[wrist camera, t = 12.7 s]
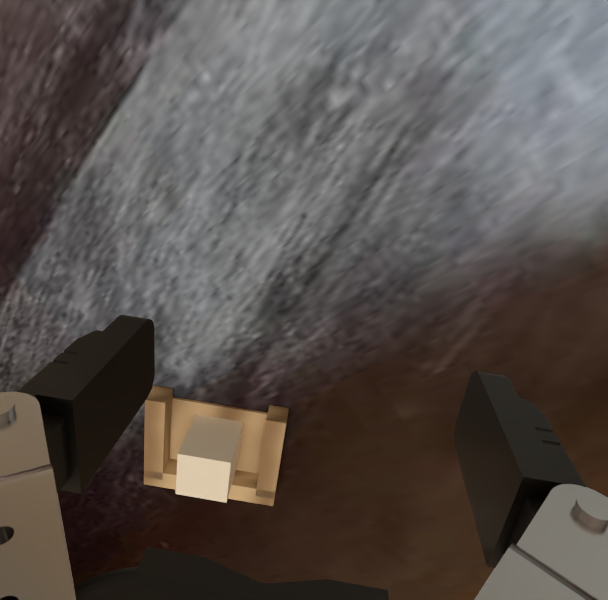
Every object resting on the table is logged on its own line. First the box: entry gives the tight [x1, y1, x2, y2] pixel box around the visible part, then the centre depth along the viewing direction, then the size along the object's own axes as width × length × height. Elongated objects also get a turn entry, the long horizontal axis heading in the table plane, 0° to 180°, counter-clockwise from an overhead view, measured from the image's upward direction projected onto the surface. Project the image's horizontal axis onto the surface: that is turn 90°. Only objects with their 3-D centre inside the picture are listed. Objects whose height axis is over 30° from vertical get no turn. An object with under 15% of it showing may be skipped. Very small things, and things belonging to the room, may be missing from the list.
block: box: [176, 414, 243, 503], centre depth 48 cm, size 5×5×6 cm
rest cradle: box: [144, 386, 289, 506], centre depth 50 cm, size 14×11×2 cm
